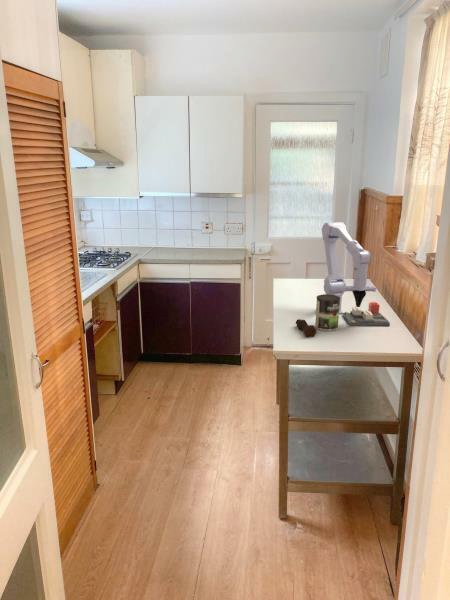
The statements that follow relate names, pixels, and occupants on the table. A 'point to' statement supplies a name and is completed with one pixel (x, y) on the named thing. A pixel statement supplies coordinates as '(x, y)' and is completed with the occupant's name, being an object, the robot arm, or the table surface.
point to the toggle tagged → (367, 315)
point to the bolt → (306, 328)
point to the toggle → (356, 310)
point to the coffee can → (327, 312)
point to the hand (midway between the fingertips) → (357, 306)
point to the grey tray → (360, 321)
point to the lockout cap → (373, 307)
